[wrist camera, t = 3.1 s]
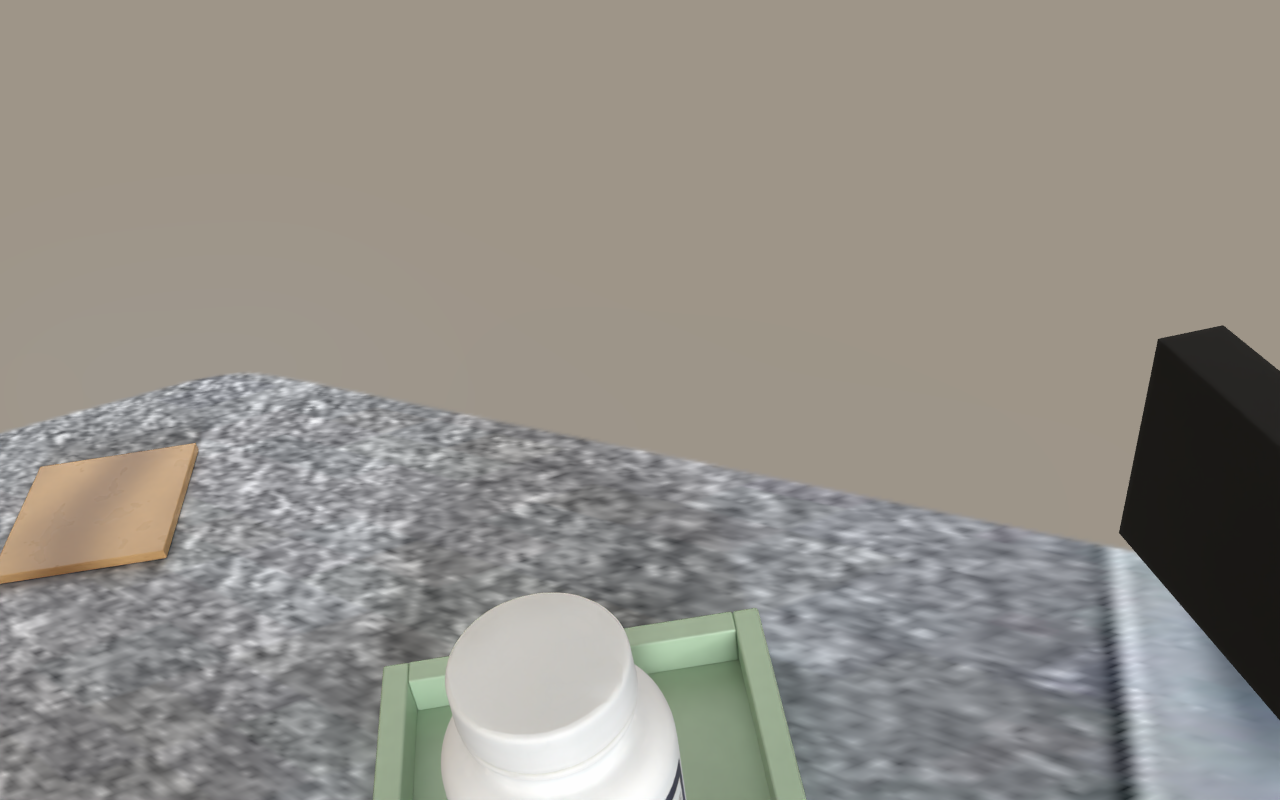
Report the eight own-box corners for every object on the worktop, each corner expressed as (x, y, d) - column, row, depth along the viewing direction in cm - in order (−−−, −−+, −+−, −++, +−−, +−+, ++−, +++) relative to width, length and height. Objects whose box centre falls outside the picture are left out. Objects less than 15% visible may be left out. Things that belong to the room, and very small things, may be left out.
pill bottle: (489, 835, 33) (409, 590, 27) (680, 797, 33) (643, 546, 27) (501, 1033, 29) (409, 792, 23) (720, 987, 29) (686, 737, 23)
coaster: (198, 449, 49) (195, 442, 49) (167, 558, 44) (163, 550, 44) (44, 473, 49) (39, 466, 49) (-7, 585, 44) (-11, 578, 44)
